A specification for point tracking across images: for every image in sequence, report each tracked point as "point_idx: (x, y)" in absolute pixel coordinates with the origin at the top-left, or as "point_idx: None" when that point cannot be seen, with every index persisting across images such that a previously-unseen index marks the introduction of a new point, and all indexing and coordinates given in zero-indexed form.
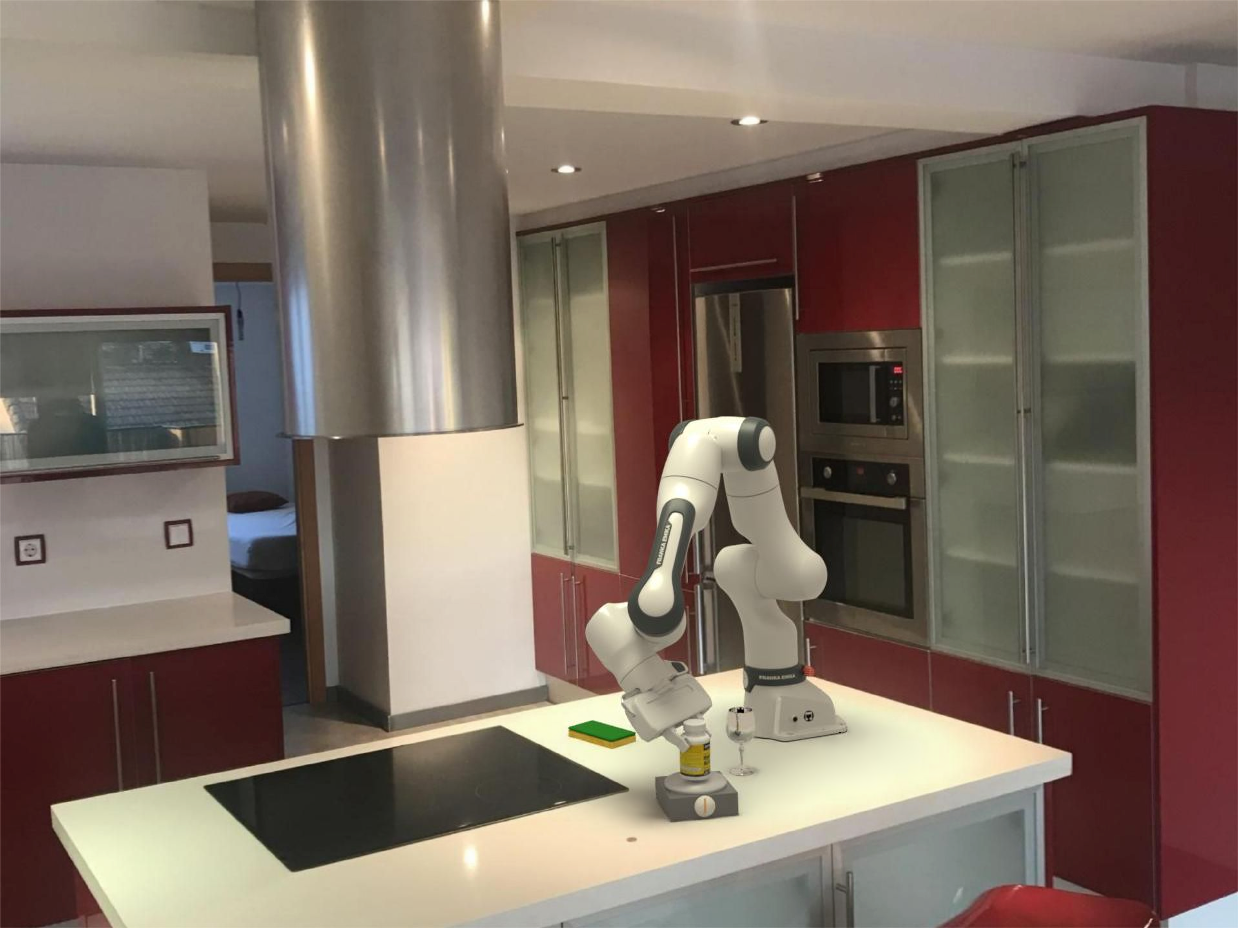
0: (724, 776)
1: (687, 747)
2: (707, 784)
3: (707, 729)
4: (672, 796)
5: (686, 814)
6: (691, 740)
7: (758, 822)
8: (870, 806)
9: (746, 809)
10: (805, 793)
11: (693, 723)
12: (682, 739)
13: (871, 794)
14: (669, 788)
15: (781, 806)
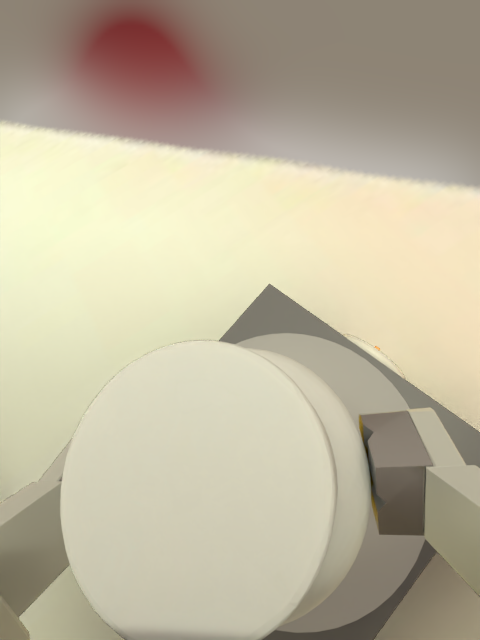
0: None
1: (429, 410)
2: None
3: (55, 465)
4: (472, 462)
5: None
6: (350, 420)
7: (295, 243)
8: (94, 145)
9: (231, 319)
10: (70, 274)
11: (244, 450)
12: (460, 463)
13: (34, 179)
14: None
15: (170, 266)
